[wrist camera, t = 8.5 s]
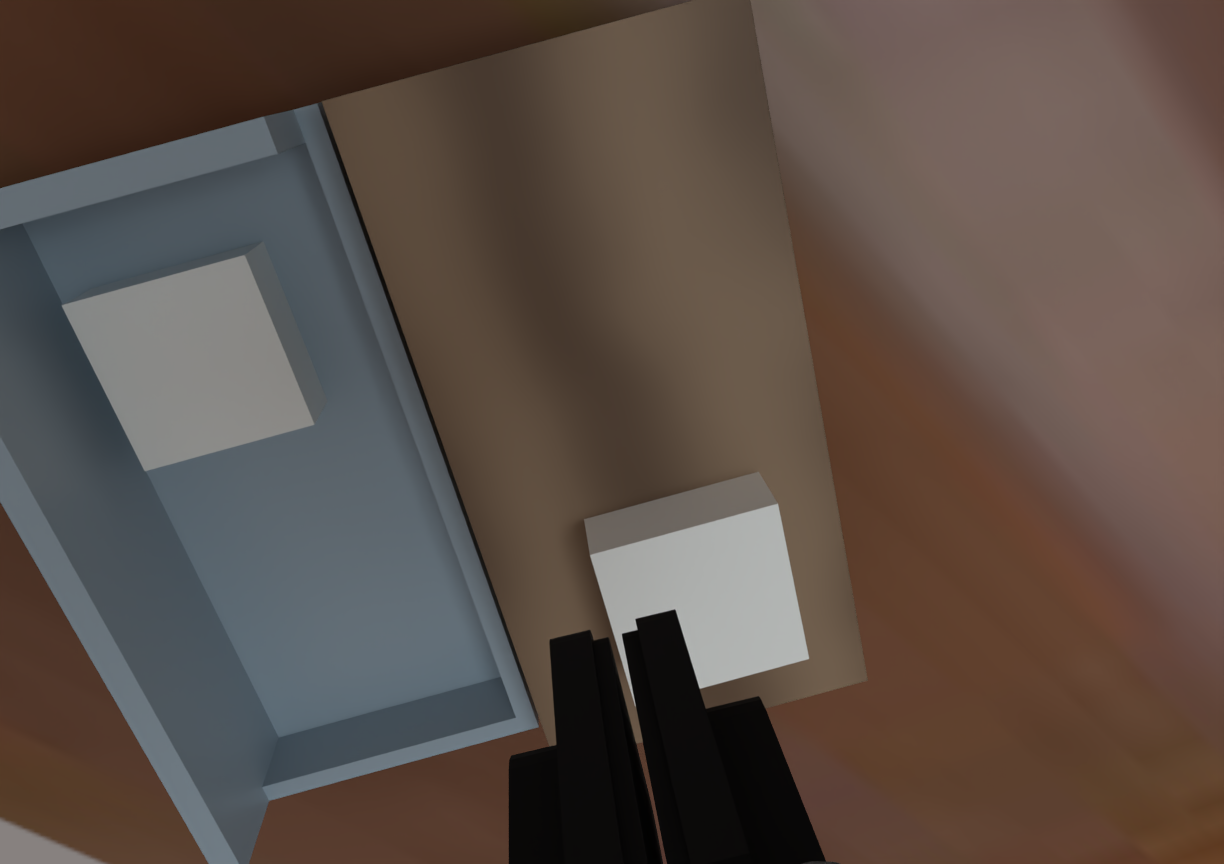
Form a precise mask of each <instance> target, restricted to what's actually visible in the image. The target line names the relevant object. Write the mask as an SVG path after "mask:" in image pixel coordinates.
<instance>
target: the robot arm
mask: <svg viewBox="0 0 1224 864" xmlns="http://www.w3.org/2000/svg"><path fill="white" fill-rule="evenodd" d="M635 621H636V625H637V629H638V630H635V631H631V632H627V633H623V634H622V639H623V644H624V649H625V654H626V659H627V664H628V669H629V674H630V679H631V684H632V689H633V694H634V699H635V704H636V710H637V715H638V720H639V725H640V730H641V735H642V740H643V745H644V750H645V755H646V760H647V765H648V770H649V775H650V780H651V786H652V791H653V796H654V801H655V806H656V811H657V816H658V821H659V826H660V831H661V836H662V841H663V846H664V851H665V856H666V861H667V864H840V863H836V862H826V860H825V858H824V855H823V853H822V850H821V848H820V845H819V843H818V840H817V837H816V835H815V832H814V830H813V827H812V825H811V822H810V820H809V817H808V815H807V812H806V810H805V807H804V805H803V802H802V800H801V797H800V795H799V792H798V790H797V787H796V785H795V782H794V780H793V777H792V774H791V772H790V769H789V767H788V764H787V762H786V759H785V757H784V754H783V752H782V749H781V747H780V744H779V742H778V739H777V737H776V734H775V732H774V729H773V727H772V724H771V722H770V719H769V717H768V714H767V711H766V709H765V707H764V704H763V702H762V700H761V698H760V697H759V696H757V697H752V698H748V699H744V700H740V701H736V702H732V703H728V704H723V705H719V706H715V707H711V708H707V709H706V708H705V705H704V701H703V698H702V695H701V691H700V688H699V685H698V682H697V678H696V675H695V672H694V669H693V665H692V662H691V659H690V655H689V652H688V649H687V646H686V642H685V639H684V636H683V632H682V629H681V626H680V623H679V619H678V616H677V613H676V610H675V609H674V610H670V611H666V612H662V613H657V614H653V615H649V616H645V617H641V618H637V619H635ZM549 646H550V660H551V674H552V689H553V703H554V717H555V732H556V745H554V746H549V747H545V748H541V749H537V750H533V751H529V752H525V753H520V754H516V755H512V756H511V758H510V760H509V864H663V860H662V855H661V850H660V845H659V840H658V834H657V829H656V824H655V819H654V814H653V810H652V805H651V801H650V797H649V792H648V788H647V784H646V780H645V777H644V773H643V769H642V765H641V761H640V757H639V753H638V749H637V745H636V741H635V737H634V733H633V729H632V725H631V721H630V717H629V714H628V710H627V706H626V702H625V698H624V694H623V690H622V686H621V682H620V678H619V674H618V670H617V666H616V662H615V658H614V654H613V650H612V647H611V643H610V639H609V637H606V638H602V639H597V640H594V639H593V636H592V633H591V630H586V631H582V632H578V633H574V634H570V635H566V636H561V637H557V638H553V639H550V641H549Z"/></svg>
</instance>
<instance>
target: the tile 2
mask: <svg viewBox="0 0 1224 864" xmlns="http://www.w3.org/2000/svg"><path fill="white" fill-rule="evenodd" d="M584 522H585V528H586V534H587V540H588V547H589V553H590V557H591V560H592V564H593V567H594V570H595V574H596V577H597V580H598V584H599V587H600V590H601V594H602V597H603V600H604V604H605V607H606V610H607V614H608V617H609V620H610V624H611V627H612V630H613V634H614V637H615V641H616V644H617V647H618V651H619V654H620V657H621V661H622V664H623V667H624V671H625V674H626V677H627V681H628V684H629V687H630V691H631V694H632V697H633V701H634V704H635V699H634V694H633V689H632V684H631V679H630V674H629V669H628V664H627V659H626V654H625V649H624V644H623V639H622V634H623V633H627V632H631V631H635V630H638V629H637V625H636V621H635V619H637V618H641V617H645V616H649V615H653V614H657V613H662V612H666V611H670V610H674V609H675V610H676V613H677V616H678V619H679V623H680V626H681V629H682V632H683V636H684V639H685V642H686V646H687V649H688V652H689V655H690V659H691V662H692V665H693V669H694V672H695V675H696V678H697V682H698V685H699V688H700V689H701V688H705V687H708V686H712V685H716V684H719V683H723V682H727V681H730V680H734V679H738V678H741V677H745V676H749V675H752V674H756V673H759V672H763V671H767V670H770V669H774V668H778V667H781V666H785V665H789V664H792V663H796V662H800V661H803V660H807V659H809V655H808V650H807V645H806V640H805V635H804V630H803V625H802V620H801V616H800V611H799V606H798V601H797V596H796V591H795V586H794V581H793V576H792V571H791V566H790V561H789V556H788V551H787V546H786V541H785V536H784V531H783V526H782V521H781V516H780V511H779V506H778V503H777V501H776V500H775V498H774V496H773V495H772V493H771V491H770V490H769V488H768V486H767V485H766V483H765V481H764V480H763V478H762V477H761V475H760V473H759V472H755V473H752V474H748V475H744V476H741V477H737V478H733V479H730V480H726V481H723V482H719V483H715V484H712V485H708V486H704V487H701V488H697V489H693V490H690V491H686V492H682V493H679V494H675V495H671V496H668V497H664V498H660V499H657V500H653V501H649V502H646V503H642V504H638V505H635V506H631V507H627V508H624V509H620V510H616V511H613V512H609V513H605V514H602V515H598V516H594V517H591V518H587V519H584ZM635 706H636V704H635Z"/></svg>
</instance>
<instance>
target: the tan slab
mask: <svg viewBox="0 0 1224 864" xmlns="http://www.w3.org/2000/svg"><path fill="white" fill-rule="evenodd" d="M322 104H323V107H324V110H325V113H326V115H327V118H328V121H329V124H330V127H331V130H332V132H333V135H334V138H335V141H336V144H337V147H338V149H339V152H340V155H341V158H342V161H343V164H344V166H345V169H346V172H347V175H348V178H349V181H350V183H351V186H352V189H353V192H354V195H355V198H356V200H357V203H358V206H359V209H360V212H361V215H362V217H363V220H364V223H365V226H366V229H367V232H368V234H369V237H370V240H371V243H372V246H373V249H374V251H375V254H376V257H377V260H378V263H379V266H380V268H381V271H382V274H383V277H384V280H385V282H386V285H387V288H388V291H389V294H390V297H391V299H392V302H393V305H394V308H395V311H396V314H397V316H398V319H399V322H400V325H401V328H402V331H403V333H404V336H405V339H406V342H407V345H408V348H409V350H410V353H411V356H412V359H413V362H414V365H415V367H416V370H417V373H418V376H419V379H420V382H421V384H422V387H423V390H424V393H425V396H426V399H427V401H428V404H429V407H430V410H431V413H432V416H433V418H434V421H435V424H436V427H437V430H438V433H439V435H440V438H441V441H442V444H443V447H444V450H445V452H446V455H447V458H448V461H449V464H450V466H451V469H452V472H453V475H454V478H455V481H456V483H457V486H458V489H459V492H460V495H461V498H462V500H463V503H464V506H465V509H466V512H467V515H468V517H469V520H470V523H471V526H472V529H473V532H474V534H475V537H476V540H477V543H478V546H479V549H480V551H481V554H482V557H483V560H484V563H485V566H486V568H487V571H488V574H489V577H490V580H491V583H492V585H493V588H494V591H495V594H496V597H497V600H498V602H499V605H500V608H501V611H502V614H503V617H504V619H505V622H506V625H507V628H508V631H509V634H510V636H511V639H512V642H513V645H514V648H515V651H516V653H517V656H518V659H519V662H520V665H521V667H522V670H523V673H524V676H525V679H526V682H527V684H528V687H529V690H530V693H531V696H532V699H533V701H534V704H535V707H536V710H537V713H538V716H539V718H540V721H541V724H542V727H543V730H544V733H545V735H546V738H547V741H548V744H549V746H554V745H556V732H555V717H554V703H553V689H552V674H551V660H550V646H549V641H550V639H553V638H557V637H561V636H566V635H570V634H574V633H578V632H582V631H586V630H591V633H592V636H593V639H594V640H597V639H602V638H606V637H609V639H610V643H611V647H612V650H613V654H614V658H615V662H616V666H617V670H618V674H619V678H620V682H621V686H622V690H623V694H624V698H625V702H626V706H627V710H628V714H629V717H630V721H631V725H632V729H633V733H634V737H635V741H636V744H637V743H641V742H643V740H642V735H641V730H640V725H639V720H638V715H637V710H636V706H635V704H634V701H633V697H632V694H631V691H630V687H629V684H628V681H627V677H626V674H625V671H624V667H623V664H622V661H621V657H620V654H619V651H618V647H617V644H616V641H615V637H614V634H613V630H612V627H611V624H610V620H609V617H608V614H607V610H606V607H605V604H604V600H603V597H602V594H601V590H600V587H599V584H598V580H597V577H596V574H595V570H594V567H593V564H592V560H591V557H590V553H589V547H588V540H587V534H586V528H585V522H584V519H587V518H591V517H594V516H598V515H602V514H605V513H609V512H613V511H616V510H620V509H624V508H627V507H631V506H635V505H638V504H642V503H646V502H649V501H653V500H657V499H660V498H664V497H668V496H671V495H675V494H679V493H682V492H686V491H690V490H693V489H697V488H701V487H704V486H708V485H712V484H715V483H719V482H723V481H726V480H730V479H733V478H737V477H741V476H744V475H748V474H752V473H755V472H759V473H760V475H761V477H762V478H763V480H764V481H765V483H766V485H767V486H768V488H769V490H770V491H771V493H772V495H773V496H774V498H775V500H776V501H777V503H778V506H779V511H780V516H781V521H782V526H783V531H784V536H785V541H786V546H787V551H788V556H789V561H790V566H791V571H792V576H793V581H794V586H795V591H796V596H797V601H798V606H799V611H800V616H801V620H802V625H803V630H804V635H805V640H806V645H807V650H808V655H809V659H807V660H803V661H800V662H796V663H792V664H789V665H785V666H781V667H778V668H774V669H770V670H767V671H763V672H759V673H756V674H752V675H749V676H745V677H741V678H738V679H734V680H730V681H727V682H723V683H719V684H716V685H712V686H708V687H705V688H701V689H700V691H701V695H702V698H703V701H704V705H705V708H706V709H707V708H711V707H715V706H719V705H723V704H728V703H732V702H736V701H740V700H744V699H748V698H752V697H757V696H759V697H760V698H761V700H762V702H763V704H764V707H765V708H769V707H772V706H776V705H780V704H783V703H787V702H791V701H794V700H798V699H802V698H805V697H809V696H813V695H816V694H820V693H824V692H827V691H831V690H835V689H838V688H842V687H845V686H849V685H853V684H856V683H860V682H864V681H867V680H868V679H867V674H866V668H865V662H864V656H863V650H862V645H861V639H860V633H859V627H858V622H857V616H856V610H855V604H854V598H853V593H852V587H851V581H850V575H849V569H848V564H847V558H846V552H845V546H844V541H843V535H842V529H841V523H840V517H839V512H838V506H837V500H836V494H835V488H834V483H833V477H832V471H831V465H830V459H829V454H828V448H827V442H826V436H825V431H824V425H823V419H822V413H821V407H820V402H819V396H818V390H817V384H816V378H815V373H814V367H813V361H812V355H811V350H810V344H809V338H808V332H807V326H806V321H805V315H804V309H803V303H802V297H801V292H800V286H799V280H798V274H797V268H796V263H795V257H794V251H793V245H792V240H791V234H790V228H789V222H788V216H787V211H786V205H785V199H784V193H783V187H782V182H781V176H780V170H779V164H778V159H777V153H776V147H775V141H774V135H773V130H772V124H771V118H770V112H769V106H768V101H767V95H766V89H765V83H764V77H763V72H762V66H761V60H760V54H759V49H758V43H757V37H756V31H755V25H754V20H753V14H752V8H751V2H750V0H692V1H688V2H685V3H681V4H677V5H674V6H670V7H666V8H663V9H659V10H655V11H652V12H648V13H644V14H641V15H637V16H633V17H630V18H626V19H622V20H619V21H615V22H611V23H608V24H604V25H600V26H597V27H593V28H589V29H586V30H582V31H578V32H574V33H571V34H567V35H563V36H560V37H556V38H552V39H549V40H545V41H541V42H538V43H534V44H530V45H527V46H523V47H519V48H516V49H512V50H508V51H505V52H501V53H497V54H494V55H490V56H486V57H483V58H479V59H475V60H472V61H468V62H464V63H461V64H457V65H453V66H450V67H446V68H442V69H439V70H435V71H431V72H427V73H424V74H420V75H416V76H413V77H409V78H405V79H402V80H398V81H394V82H391V83H387V84H383V85H380V86H376V87H372V88H369V89H365V90H361V91H358V92H354V93H350V94H347V95H343V96H339V97H336V98H332V99H328V100H325V101H322Z"/></svg>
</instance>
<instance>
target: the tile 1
mask: <svg viewBox="0 0 1224 864" xmlns="http://www.w3.org/2000/svg"><path fill="white" fill-rule="evenodd" d="M61 306H62V308H63V310H64V312H65V314H66V316H67V318H68V320H69V322H70V324H71V326H72V328H73V330H74V332H75V334H76V336H77V338H78V340H79V342H80V344H81V346H82V348H83V350H84V352H85V353H86V355H87V357H88V359H89V361H90V363H91V365H92V367H93V369H94V371H95V373H96V375H97V377H98V379H99V381H100V383H101V385H102V387H103V389H104V391H105V393H106V395H107V397H108V399H109V401H110V403H111V405H112V407H113V409H114V411H115V413H116V415H117V417H118V419H119V421H120V423H121V425H122V427H123V429H124V431H125V433H126V435H127V437H128V439H129V441H130V443H131V445H132V447H133V449H134V451H135V453H136V455H137V457H138V459H139V461H140V463H141V465H142V467H143V469H144V471H148V470H152V469H155V468H159V467H163V466H166V465H170V464H173V463H177V462H181V461H184V460H188V459H192V458H195V457H199V456H203V455H206V454H210V453H213V452H217V451H221V450H224V449H228V448H232V447H235V446H239V445H243V444H246V443H250V442H254V441H257V440H261V439H264V438H268V437H272V436H275V435H279V434H283V433H286V432H290V431H294V430H297V429H301V428H305V427H308V426H312V425H315V423H316V421H317V419H318V417H319V416H320V414H321V412H322V410H323V408H324V406H325V404H326V402H327V399H326V396H325V394H324V391H323V389H322V386H321V384H320V381H319V379H318V376H317V374H316V371H315V369H314V366H313V364H312V361H311V359H310V356H309V354H308V351H307V349H306V346H305V344H304V341H303V339H302V336H301V334H300V331H299V329H298V326H297V324H296V321H295V319H294V316H293V314H292V311H291V309H290V306H289V304H288V301H287V299H286V296H285V294H284V291H283V289H282V286H281V284H280V281H279V279H278V276H277V274H276V271H275V269H274V267H273V264H272V262H271V259H270V257H269V254H268V252H267V249H266V247H265V244H264V242H263V241H262V242H259V243H255V244H251V245H248V246H244V247H240V248H237V249H233V250H229V251H226V252H222V253H219V254H215V255H211V256H208V257H204V258H200V259H197V260H193V261H189V262H186V263H182V264H178V265H175V266H171V267H168V268H164V269H160V270H157V271H153V272H149V273H146V274H142V275H138V276H135V277H131V278H127V279H124V280H120V281H117V282H113V283H109V284H106V285H102V286H98V287H95V288H92V289H90V290H88V291H86V292H85V293H83V294H81V295H79V296H77V297H75V298H74V299H72V300H70V301H68V302H66V303H65V304H63V305H61Z"/></svg>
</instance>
